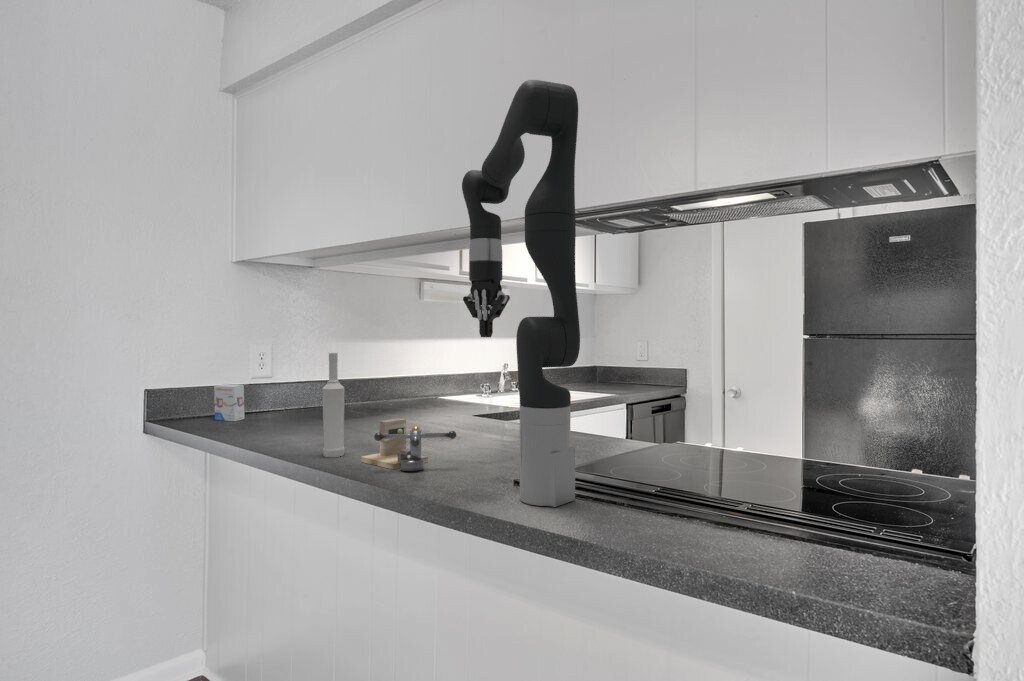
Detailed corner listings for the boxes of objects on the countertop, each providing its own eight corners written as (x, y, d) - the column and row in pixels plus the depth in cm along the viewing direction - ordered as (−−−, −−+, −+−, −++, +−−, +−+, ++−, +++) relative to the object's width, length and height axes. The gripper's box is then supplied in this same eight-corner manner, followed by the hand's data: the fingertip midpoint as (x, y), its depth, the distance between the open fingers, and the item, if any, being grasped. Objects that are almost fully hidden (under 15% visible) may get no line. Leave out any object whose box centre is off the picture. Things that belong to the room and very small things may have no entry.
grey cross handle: (454, 458, 149) (454, 423, 149) (458, 476, 131) (458, 436, 131) (377, 461, 146) (376, 425, 146) (371, 479, 129) (370, 439, 128)
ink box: (213, 420, 211) (213, 385, 211) (224, 418, 216) (223, 383, 216) (234, 421, 209) (234, 385, 208) (245, 419, 214) (244, 384, 213)
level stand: (434, 463, 145) (434, 423, 145) (400, 471, 138) (400, 429, 137) (395, 455, 155) (394, 417, 154) (360, 461, 147) (360, 422, 147)
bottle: (318, 456, 153) (317, 353, 152) (333, 452, 158) (332, 352, 157) (334, 458, 151) (333, 353, 150) (349, 454, 155) (348, 352, 155)
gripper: (518, 259, 141) (518, 337, 142) (476, 263, 150) (476, 336, 150) (496, 257, 136) (496, 337, 136) (453, 261, 144) (453, 337, 145)
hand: (485, 337), depth 143 cm, fingers closed
